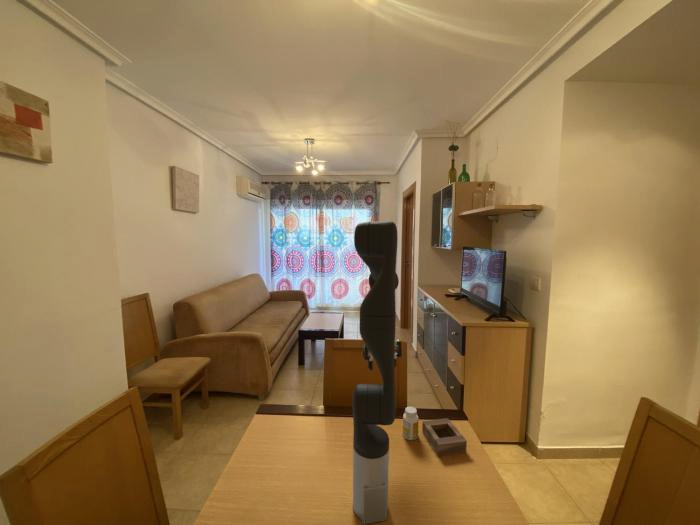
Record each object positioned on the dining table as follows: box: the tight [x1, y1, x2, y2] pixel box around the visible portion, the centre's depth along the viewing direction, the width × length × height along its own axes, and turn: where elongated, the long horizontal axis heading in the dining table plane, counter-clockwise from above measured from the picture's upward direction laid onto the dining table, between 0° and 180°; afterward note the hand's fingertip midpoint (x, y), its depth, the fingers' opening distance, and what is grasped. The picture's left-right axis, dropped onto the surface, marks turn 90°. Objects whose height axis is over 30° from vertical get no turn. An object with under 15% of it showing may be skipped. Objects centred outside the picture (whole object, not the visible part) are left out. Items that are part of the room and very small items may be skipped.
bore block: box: [421, 417, 467, 457], centre depth 103 cm, size 12×10×4 cm
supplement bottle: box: [402, 406, 419, 441], centre depth 105 cm, size 5×5×10 cm
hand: (381, 368), depth 110 cm, fingers open, 8 cm apart
